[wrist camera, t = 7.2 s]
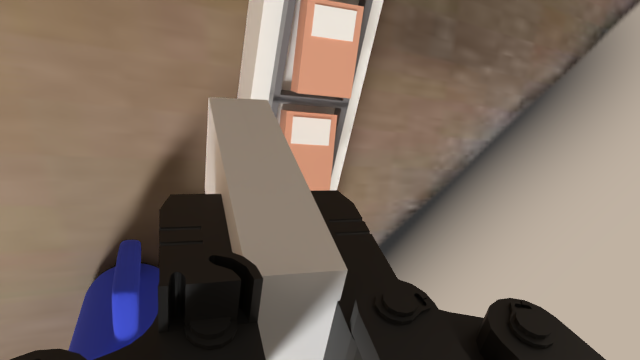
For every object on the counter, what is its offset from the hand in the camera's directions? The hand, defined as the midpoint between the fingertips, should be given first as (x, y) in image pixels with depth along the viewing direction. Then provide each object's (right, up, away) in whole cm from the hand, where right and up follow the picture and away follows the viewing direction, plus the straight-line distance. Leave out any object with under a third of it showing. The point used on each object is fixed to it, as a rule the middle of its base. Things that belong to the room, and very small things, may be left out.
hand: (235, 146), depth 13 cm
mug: (-13, -8, +25) cm, 29 cm away
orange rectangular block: (+2, +7, +14) cm, 16 cm away
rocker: (+1, +1, +17) cm, 17 cm away
